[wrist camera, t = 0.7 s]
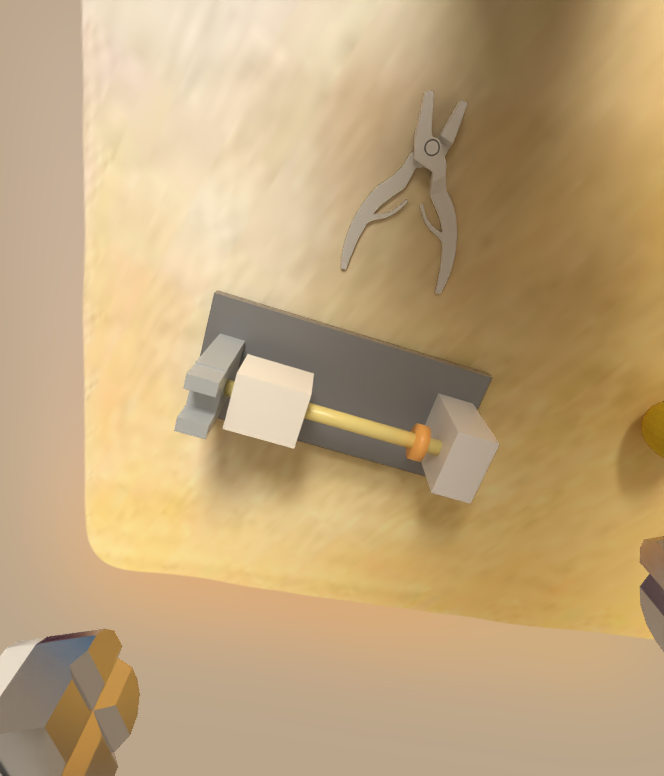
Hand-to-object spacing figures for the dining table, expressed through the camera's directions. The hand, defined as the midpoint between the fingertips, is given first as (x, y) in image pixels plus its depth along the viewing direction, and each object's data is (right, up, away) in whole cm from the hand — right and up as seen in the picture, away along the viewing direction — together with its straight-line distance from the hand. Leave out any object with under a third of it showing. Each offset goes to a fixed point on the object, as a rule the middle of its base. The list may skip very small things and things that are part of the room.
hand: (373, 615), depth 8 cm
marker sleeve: (-6, +3, +36) cm, 37 cm away
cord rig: (0, +3, +41) cm, 41 cm away
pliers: (+6, +20, +35) cm, 41 cm away
